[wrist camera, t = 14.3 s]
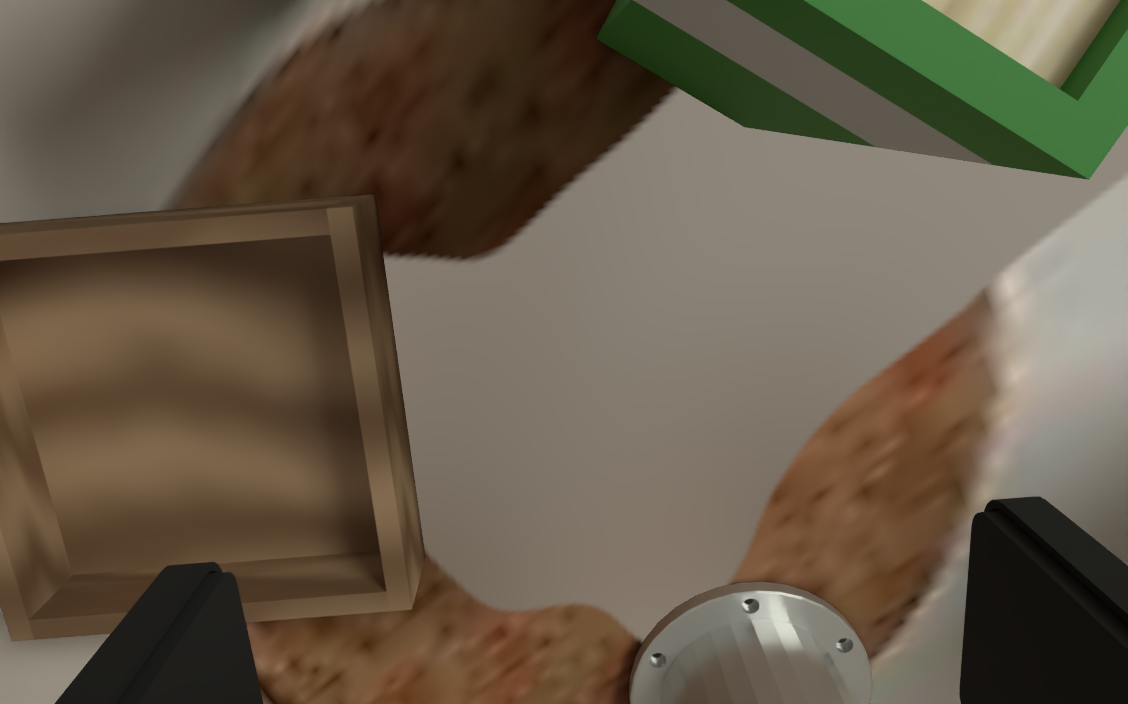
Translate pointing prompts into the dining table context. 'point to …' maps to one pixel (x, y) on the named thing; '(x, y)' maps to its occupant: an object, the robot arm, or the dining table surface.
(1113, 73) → the hardback book
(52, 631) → the walnut box
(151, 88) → the dining table surface
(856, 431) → the dining table surface
